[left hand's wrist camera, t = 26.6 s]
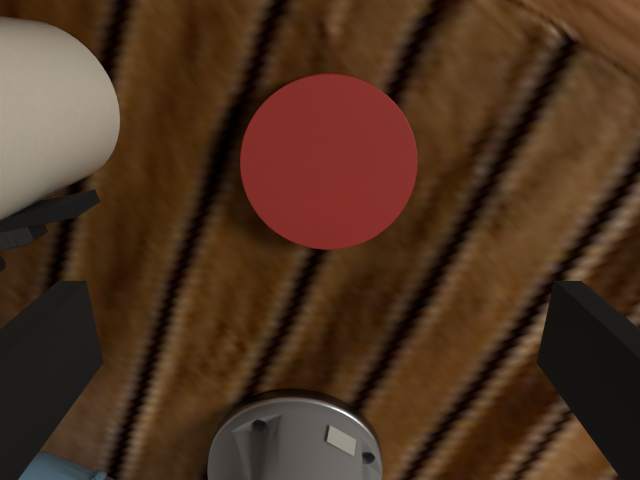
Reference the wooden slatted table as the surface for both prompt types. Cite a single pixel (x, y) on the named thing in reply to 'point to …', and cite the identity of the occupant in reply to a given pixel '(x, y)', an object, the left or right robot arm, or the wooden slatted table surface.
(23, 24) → the jar
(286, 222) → the lid
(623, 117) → the wooden slatted table surface
